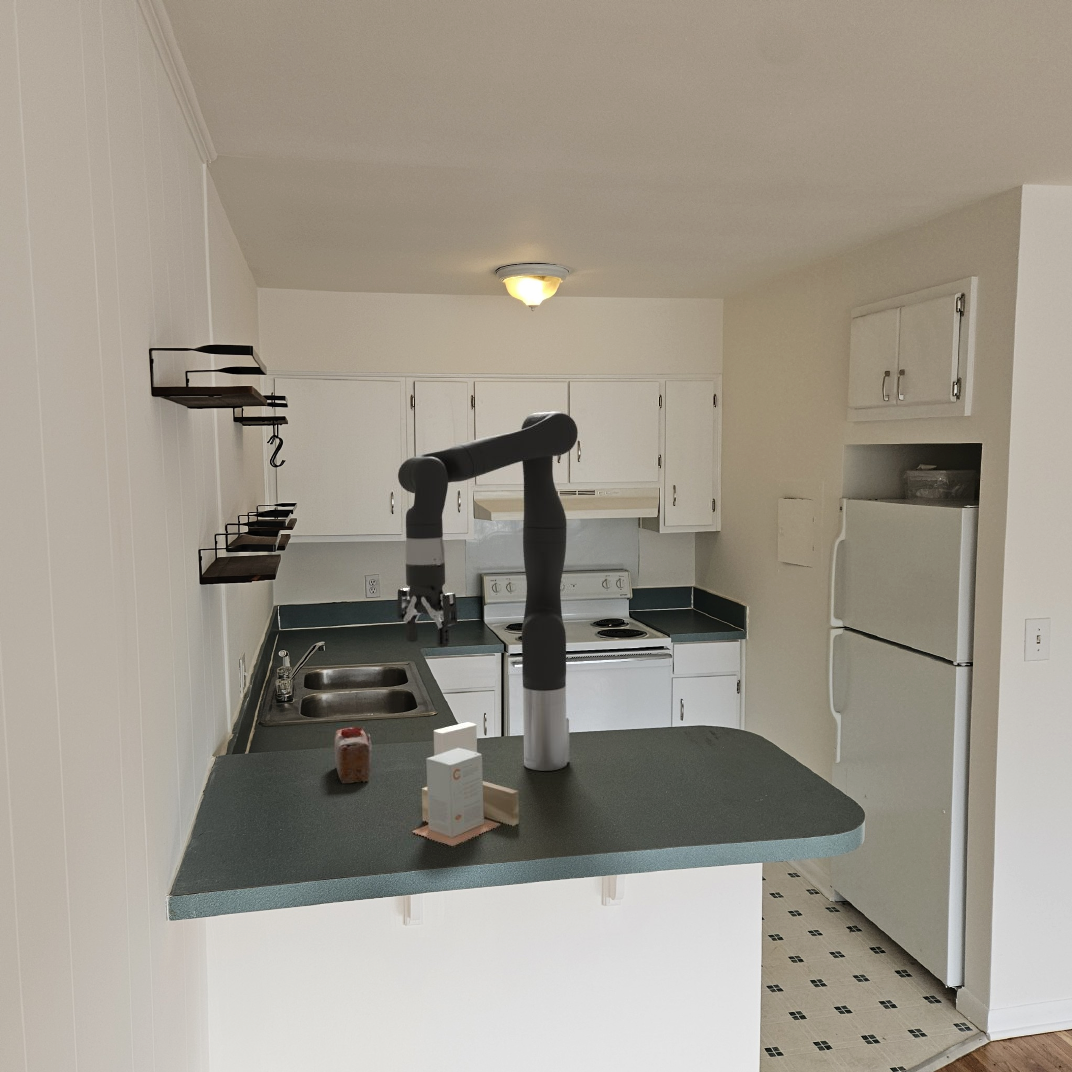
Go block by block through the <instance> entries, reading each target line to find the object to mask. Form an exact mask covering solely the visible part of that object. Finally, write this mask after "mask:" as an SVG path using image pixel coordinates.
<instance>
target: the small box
mask: <svg viewBox="0 0 1072 1072" xmlns="http://www.w3.org/2000/svg"><path fill="white" fill-rule="evenodd" d="M425 761H426V764H425V765H426V766H425V767H426V787H427V796H428V822H427V823H428V824H427V825H429V830H432V831H435V832H437V833H440V834H443V835H446V836H449V837H452V838H453V837H455V836H457V835H459V834H462V833H464V832H466V831H469V830H471V829H473V828H475V827H478V826H480V825H482V824H484V819H485V817H484V811H483V781H484V780H483V779H484V778H483V754H482V753H480V752H478V751H477V752H473V751H470V750H466V749H462V748H456V749H453V750H450V751H447V752H444V753H441V754H438V755H435V756H434V755H433V756H430V757H429V756H428V757H427V758H426V759H425Z"/></svg>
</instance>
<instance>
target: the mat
mask: <svg viewBox="0 0 1072 1072" xmlns="http://www.w3.org/2000/svg"><path fill="white" fill-rule="evenodd" d="M499 825H500V826H501V823H500V822H499V823H498V822H497V821H496V822H495V821H494V820H493V821H492V820H490V819H487V818H484V824H482V825H480V826H478V827H475V828H473V829H471V830H469V831H466V832H464V833H462V834H459V835H457V836H455V837H453V838H452V837H449V836H446V835H443V834H440V833H437V832H435V831H432V830H429V824H427V825H425V826H424V825H423V826H422V827H420V828H417V829H415V830H412V832H413V833H412V832H411V833H412V834H414V833H415V835H417V834H418V835H417V836H419V835H421V836H420V837H422V836H424V837H423V838H425V837H427V838H426V839H428V838H429V840H431V839H432V840H431V841H433V840H435V841H434V842H436V841H438V842H437V843H439V842H442V843H445V844H448V845H451V846H454V845H456V844H459V843H461V842H463V843H465V842H467V841H469V840H468V839H470V840H471V838H472V837H474V838H475V836H476V837H479V836H480V835H479V834H481V835H483V834H484V832H485V833H487V832H490V831H491V829H492V830H494V829H496V828H498V827H500V826H499ZM497 826H498V827H497ZM493 828H494V829H493ZM486 831H487V832H486ZM482 833H483V834H482ZM472 839H473V838H472ZM466 840H467V841H466ZM464 841H465V842H464ZM442 843H441V844H442ZM445 844H444V845H445ZM461 844H462V843H461ZM459 845H460V844H459ZM454 847H455V846H454Z"/></svg>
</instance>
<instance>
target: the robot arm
mask: <svg viewBox="0 0 1072 1072" xmlns="http://www.w3.org/2000/svg"><path fill="white" fill-rule="evenodd" d="M578 434H579V433H578V426H577V424H576V421H575V420H574V419H573V418H572V417H571V416H570V415H569V414H567V413H564V412H562V411H544V412H543V411H541V412H540V411H539V412H535V413H531V414H530V415H528V416H527V417H526V418H525V419H524V420H523V423H522V425H521V429H519V430H516V431H511V432H507V433H502V434H497V435H492V436H485V437H482V438H476V439H474V440H470V441H466V442H464V443H461V444H458V445H455V446H452V447H450V448H446V449H443V450H439V451H434V452H429V453H424V454H420V455H416V456H413V457H411V458H409V459H406V460H405V461H403V463H402V464H401V465H400V467H399V469H398V473H397V479H398V483H399V485H400V486H401V487H402V489H404V490H406V492H408V493H412V494H414V499H413V506H411V507H410V508H409V509H408V510H407V511H406V513H405V535H406V536H405V537H406V538H405V540H406V541H405V549H404V550H405V554H404V555H405V584H406V586H407V587H405V588H399V589H398V590H397V609H396V610H397V611H396V612H397V619H398V620H402V621H403V622H404V623H405V637H406V641H407V643H416V642H417V641H418V638H419V637H418V636H419V633H418V622H417V621H418V619H419V617H420V615H421V614H424V615H429V616H430V618H431V619H432V620H434V622H435V624H436V625H437V628H436V636H437V640H436V641H437V642H436V643H437V647H438V648H446V647H448V645H449V643H450V627H451V626H452V625H457V624H458V612H457V611H458V609H457V597H456V596H457V595H456V592H447V593H444V591H443V587H444V585H445V584H446V560H445V559H446V556H445V555H446V553H445V551H446V550H445V544H444V536H443V535H444V534H443V533H444V532H443V531H444V529H443V528H444V527H443V526H444V525H443V513H444V509H445V504H446V498H447V494H448V488H449V483H458V482H459V483H460V482H464V481H468V480H471V479H474V478H476V477H480V476H483V475H485V474H488V473H491V472H493V471H496V470H499V469H502V468H505V467H508V466H511V465H514V464H518V463H520V462H521V463H522V473H523V474H522V475H523V521H522V522H523V524H522V527H523V528H522V547H523V548H522V551H523V553H522V554H523V563H524V564H523V565H524V571H525V572H524V573H525V578H526V579H525V580H526V595H525V596H526V597H525V605H524V607H525V608H524V614H523V615H524V616H523V620H522V626H521V655H522V656H521V658H522V660H521V662H522V666H521V667H522V671H521V672H522V708H523V709H522V712H523V714H522V715H523V765H524V767H526V768H527V769H530V770H533V771H539V772H540V771H543V772H544V771H545V772H546V771H547V772H548V771H550V772H551V771H557V770H559V769H563V768H565V767H567V764H568V763H569V762H570V719H569V717H567V687H566V686H567V633H566V628H565V624H564V620H563V613H562V598H561V583H562V577H563V571H564V568H565V561H566V551H567V532H568V531H567V529H568V528H567V524H568V523H567V515H566V513H565V509H564V506H563V504H562V501H561V498H560V496H559V493H558V491H557V488H556V485H555V482H554V481H555V480H554V473H553V466H554V464H553V463H554V457H557V456H562V455H565V454H567V453H568V452H569V451H572V449H573V448H574V446H575V445H576V443H577V441H578Z"/></svg>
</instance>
